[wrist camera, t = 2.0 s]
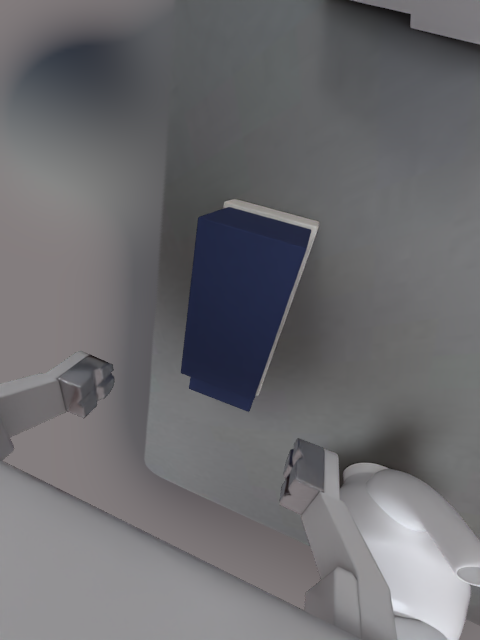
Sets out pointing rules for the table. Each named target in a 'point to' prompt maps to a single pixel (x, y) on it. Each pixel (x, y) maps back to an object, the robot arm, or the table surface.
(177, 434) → the table surface
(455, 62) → the table surface
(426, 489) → the teapot
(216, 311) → the navy stepped block
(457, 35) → the bracket
